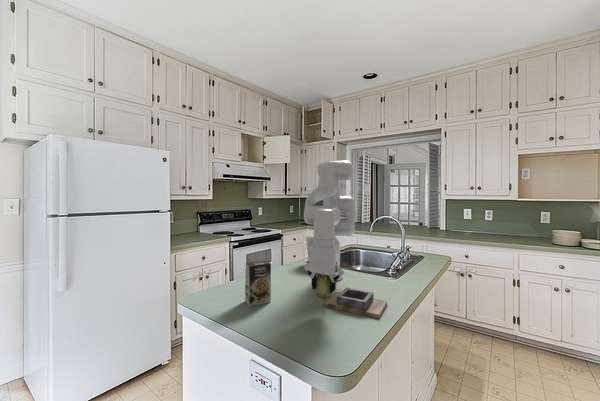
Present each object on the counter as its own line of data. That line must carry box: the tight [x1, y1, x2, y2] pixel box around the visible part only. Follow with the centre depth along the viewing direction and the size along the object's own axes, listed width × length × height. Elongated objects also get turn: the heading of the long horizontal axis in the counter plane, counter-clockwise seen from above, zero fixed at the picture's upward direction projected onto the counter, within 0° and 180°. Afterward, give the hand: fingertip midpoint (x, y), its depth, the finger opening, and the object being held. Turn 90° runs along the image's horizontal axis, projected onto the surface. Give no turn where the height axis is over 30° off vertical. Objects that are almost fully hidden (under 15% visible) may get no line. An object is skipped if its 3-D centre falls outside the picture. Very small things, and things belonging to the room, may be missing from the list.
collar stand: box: [322, 287, 388, 320], centre depth 115 cm, size 22×14×4 cm, turn 62°
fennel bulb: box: [315, 274, 332, 300], centre depth 106 cm, size 6×5×12 cm
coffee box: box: [244, 260, 272, 307], centre depth 117 cm, size 9×6×16 cm
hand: (323, 289), depth 106 cm, fingers closed on fennel bulb, 6 cm apart
